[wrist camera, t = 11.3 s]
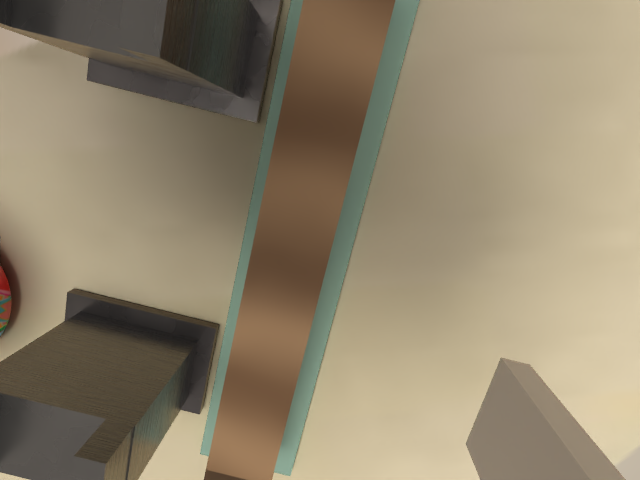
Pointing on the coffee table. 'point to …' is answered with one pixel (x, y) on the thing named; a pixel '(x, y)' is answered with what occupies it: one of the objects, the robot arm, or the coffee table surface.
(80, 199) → the coffee table surface
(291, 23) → the mat
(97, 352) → the post
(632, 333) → the coffee table surface
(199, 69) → the post
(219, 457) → the rail
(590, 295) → the coffee table surface
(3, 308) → the mug
